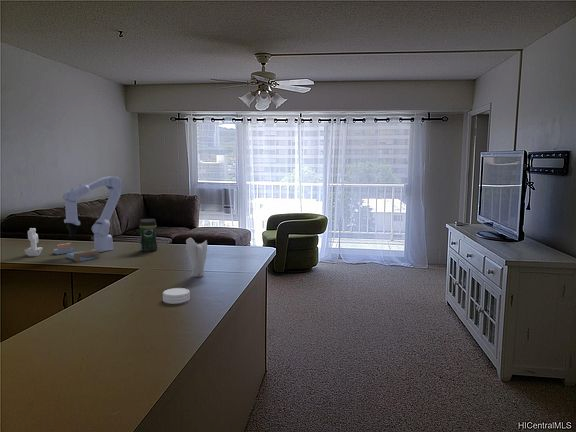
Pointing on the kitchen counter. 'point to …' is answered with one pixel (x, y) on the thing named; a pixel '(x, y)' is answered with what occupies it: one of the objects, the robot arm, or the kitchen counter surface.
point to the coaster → (176, 295)
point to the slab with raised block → (63, 248)
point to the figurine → (33, 243)
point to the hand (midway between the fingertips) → (72, 236)
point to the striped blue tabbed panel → (83, 255)
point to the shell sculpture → (196, 256)
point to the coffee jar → (148, 235)
